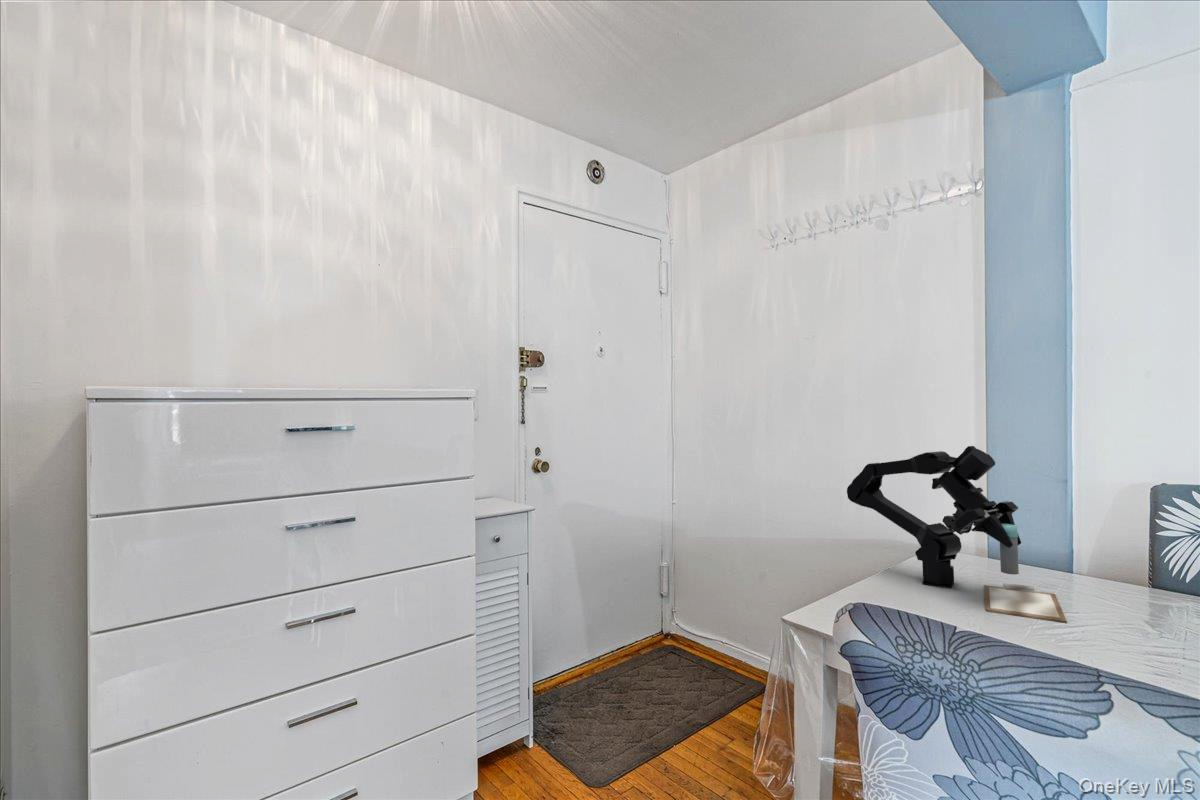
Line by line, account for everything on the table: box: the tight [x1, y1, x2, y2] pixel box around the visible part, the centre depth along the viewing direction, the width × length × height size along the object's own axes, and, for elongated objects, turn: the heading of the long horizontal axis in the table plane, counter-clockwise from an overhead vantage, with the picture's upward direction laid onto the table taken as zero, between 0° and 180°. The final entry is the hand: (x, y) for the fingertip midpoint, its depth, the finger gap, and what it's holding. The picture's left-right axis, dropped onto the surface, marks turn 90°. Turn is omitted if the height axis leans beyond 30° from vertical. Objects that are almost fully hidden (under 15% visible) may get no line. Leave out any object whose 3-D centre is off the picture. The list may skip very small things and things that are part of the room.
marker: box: [999, 524, 1020, 575], centre depth 128 cm, size 4×4×11 cm
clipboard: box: [983, 582, 1068, 624], centre depth 127 cm, size 14×20×2 cm
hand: (1015, 545), depth 127 cm, fingers closed on marker, 3 cm apart
